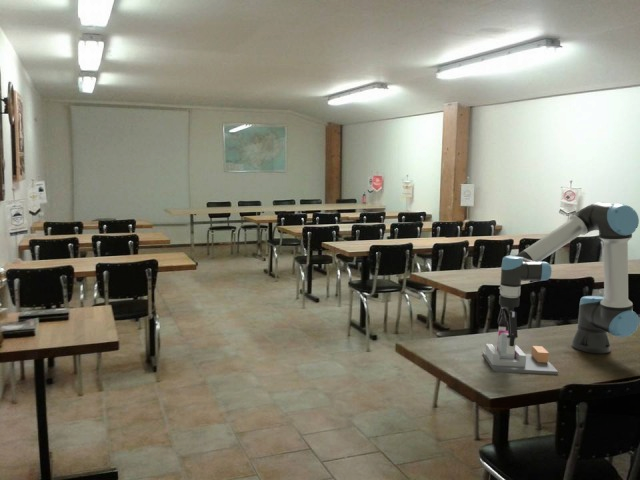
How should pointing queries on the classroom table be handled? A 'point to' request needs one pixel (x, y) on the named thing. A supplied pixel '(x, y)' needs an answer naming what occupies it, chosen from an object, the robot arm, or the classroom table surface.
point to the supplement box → (504, 345)
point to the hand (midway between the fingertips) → (505, 347)
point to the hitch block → (516, 362)
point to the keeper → (540, 354)
